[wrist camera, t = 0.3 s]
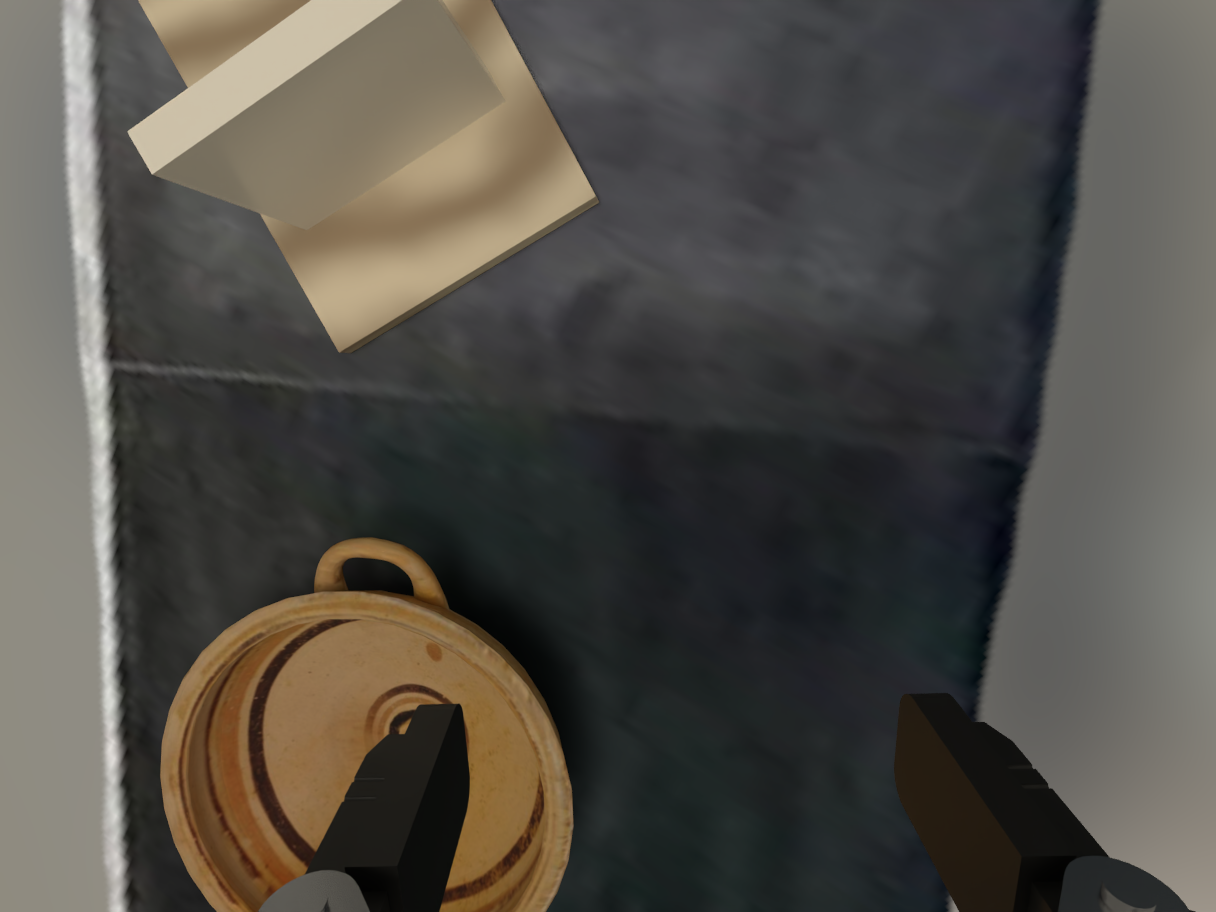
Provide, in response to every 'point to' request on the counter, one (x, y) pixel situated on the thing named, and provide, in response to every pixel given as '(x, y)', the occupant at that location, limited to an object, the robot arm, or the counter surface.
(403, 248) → the board
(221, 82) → the tile
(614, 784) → the counter surface
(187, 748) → the ceramic bowl
